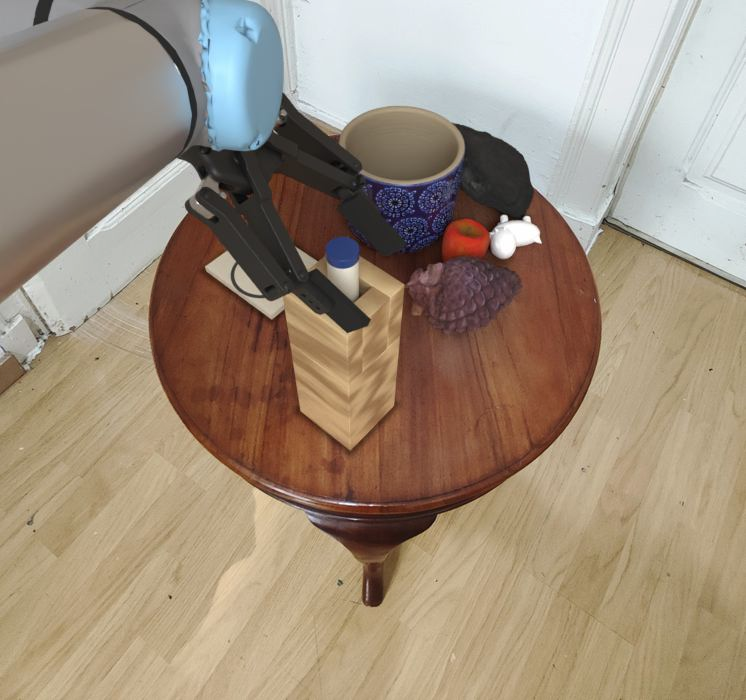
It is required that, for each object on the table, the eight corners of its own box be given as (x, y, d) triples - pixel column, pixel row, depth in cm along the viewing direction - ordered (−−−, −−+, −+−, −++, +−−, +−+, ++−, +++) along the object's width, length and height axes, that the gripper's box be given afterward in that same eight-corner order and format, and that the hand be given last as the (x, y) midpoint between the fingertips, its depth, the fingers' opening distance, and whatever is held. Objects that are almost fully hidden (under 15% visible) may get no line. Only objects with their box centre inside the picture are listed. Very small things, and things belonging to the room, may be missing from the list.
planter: (473, 248, 92) (490, 163, 79) (368, 283, 87) (370, 199, 75) (420, 178, 100) (429, 93, 88) (323, 207, 96) (318, 121, 84)
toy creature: (488, 209, 89) (492, 246, 86) (544, 212, 90) (549, 249, 87) (481, 230, 93) (484, 265, 90) (534, 232, 94) (539, 268, 91)
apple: (432, 254, 91) (446, 209, 85) (474, 261, 91) (490, 216, 86) (435, 281, 86) (450, 235, 81) (479, 288, 87) (496, 243, 82)
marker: (346, 355, 63) (343, 266, 53) (325, 340, 64) (318, 249, 54) (365, 338, 65) (366, 247, 54) (344, 323, 66) (341, 231, 55)
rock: (520, 244, 92) (553, 209, 88) (442, 212, 86) (473, 173, 82) (495, 179, 102) (523, 145, 97) (423, 147, 96) (450, 108, 91)
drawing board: (271, 319, 84) (270, 314, 83) (206, 271, 88) (204, 265, 87) (328, 273, 89) (328, 267, 88) (263, 229, 93) (262, 224, 92)
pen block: (350, 451, 73) (347, 336, 55) (300, 411, 76) (281, 290, 58) (394, 405, 76) (405, 284, 58) (344, 369, 79) (340, 243, 61)
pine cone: (492, 263, 90) (538, 240, 81) (506, 331, 89) (554, 316, 80) (381, 271, 82) (418, 247, 73) (395, 346, 81) (434, 331, 72)
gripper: (219, 40, 55) (388, 221, 65) (70, 200, 43) (304, 390, 53) (266, -13, 50) (443, 193, 60) (111, 153, 38) (363, 374, 48)
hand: (377, 286), depth 56 cm, fingers open, 9 cm apart
